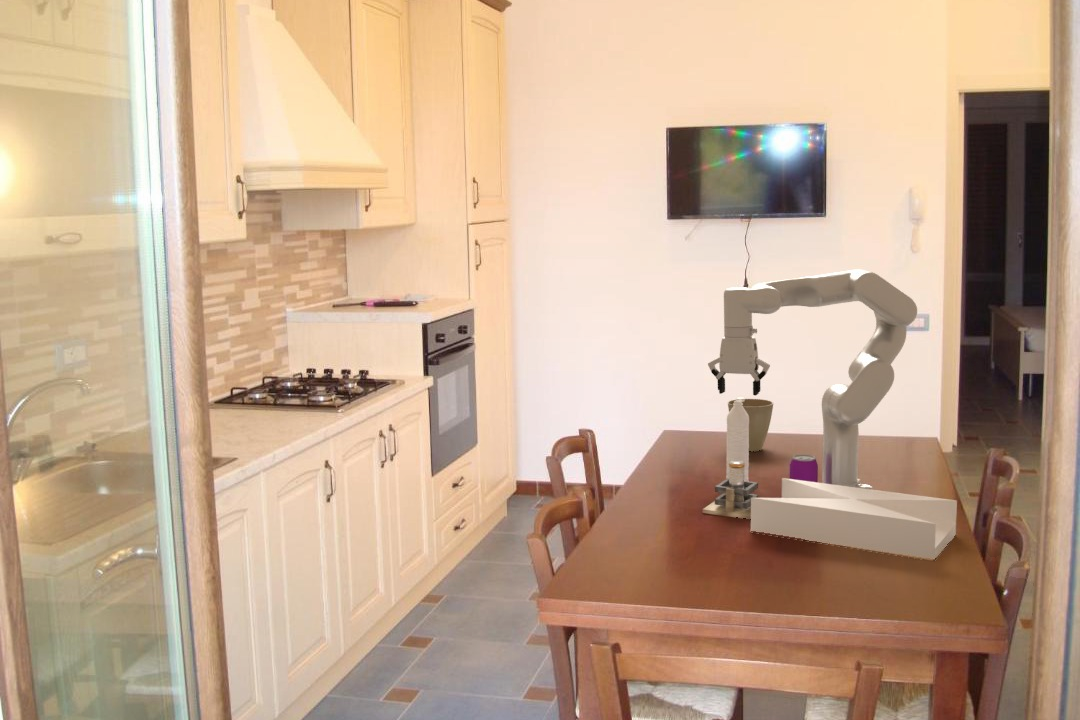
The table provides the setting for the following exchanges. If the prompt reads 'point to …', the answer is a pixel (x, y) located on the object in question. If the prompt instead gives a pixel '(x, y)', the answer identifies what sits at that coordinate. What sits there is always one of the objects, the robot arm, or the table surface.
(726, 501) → the collar stand
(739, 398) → the water bottle
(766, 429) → the plant pot
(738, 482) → the steel tube
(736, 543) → the table surface
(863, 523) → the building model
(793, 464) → the beverage can
